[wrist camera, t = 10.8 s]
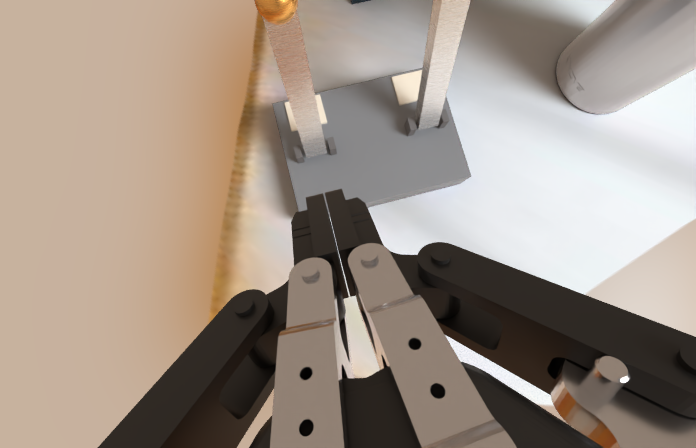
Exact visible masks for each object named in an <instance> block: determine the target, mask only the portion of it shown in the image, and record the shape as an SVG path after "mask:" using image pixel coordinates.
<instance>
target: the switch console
mask: <svg viewBox="0 0 696 448" xmlns="http://www.w3.org/2000/svg"><path fill="white" fill-rule="evenodd" d="M421 75H422V68H420V69H415V70H411V71H407V72H403V73H399V74H395V75H390V76H386V77H382V78H378V79H374V80H369V81H365V82H361V83H357V84H353V85H349V86H344V87H340V88H336V89H332V90H328V91H323V92H319V93H315V97H316V102H317V107H318V111H319V116H320V121H321V126H322V131H323V135H324V140H325V145H326V150H327V153H326V154H322V155H318V156H314V157H310V158H306V154H305V151H304V148H303V145H302V142H301V138H300V135H299V132H298V129H297V126H296V122H295V119H294V116H293V113H292V110H291V106H290V103H289V100H286V101H282V102H277V103H273V108H274V112H275V117H276V121H277V125H278V129H279V133H280V137H281V141H282V145H283V149H284V153H285V157H286V161H287V165H288V169H289V174H290V178H291V182H292V186H293V190H294V194H295V198H296V202H297V206H298V210H299V212H300V211H304V210H307V204H306V197H309V196H313V195H317V194H322V193H323V195H324V199H325V203H326V206H327V210H328V214H329V217H330V213H329V209H328V205H327V201H326V197H325V192H329V191H333V190H337V189H341V188H342V191H343V194H344V197H345V200H348V199H352V198H356V197H358V198H359V199H361V200H362V201H363V202H365V204H366V206H367V207H371V206H375V205H379V204H383V203H387V202H391V201H395V200H399V199H402V198H406V197H410V196H414V195H418V194H422V193H426V192H430V191H434V190H438V189H441V188H445V187H449V186H453V185H457V184H460V183H462V182H463V181H465V180H466V179H468V178H469V177H471V174H470V171H469V168H468V164H467V161H466V158H465V155H464V152H463V149H462V145H461V142H460V139H459V136H458V133H457V129H456V126H455V123H454V120H453V117H452V114H451V110H450V107H449V104H448V101H447V98H446V97H445V101H444V105H443V109H442V113H441V116H440V120H439V124H438V126H435V127H431V128H427V129H423V130H419V131H418V129H417V127H416V124H415V120H414V118H415V112H416V106H417V100H418V93H419V87H420V81H421Z"/></svg>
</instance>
